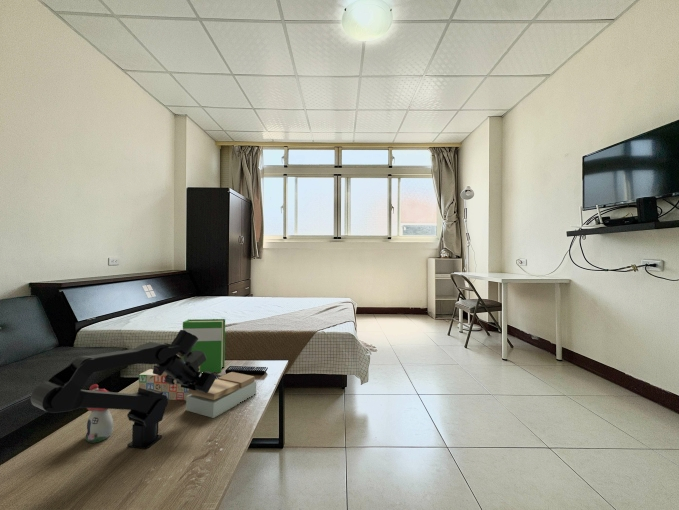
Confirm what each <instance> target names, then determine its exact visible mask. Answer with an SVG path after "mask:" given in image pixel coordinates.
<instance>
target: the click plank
mask: <svg viewBox="0 0 679 510" xmlns="http://www.w3.org/2000/svg"><path fill="white" fill-rule="evenodd" d="M238 389H239V384H237V383H233V382H228V381H223V380H219V379H218V378H216V379H215V381H214V383H213V384H212V386H211V388H210V390H209V392H207V393H203V392H200V391H198V390H196V391H195V390H190V389H189V394H192V395H196V396H200V397H204V398H208V399H212V400H215V399H217V398H220V397H222V396H224V395H227V394H229V393H231V392H234V391H236V390H238Z"/></svg>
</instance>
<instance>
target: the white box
mask: <svg viewBox="0 0 679 510" xmlns="http://www.w3.org/2000/svg"><path fill="white" fill-rule="evenodd" d="M255 377H256V376H254V375H249V374H245V373H239V372H235V371H231V372H228V373H226V374H223V375H221V376H219V377H217V379H219V380H223V381H228V382H233V383H237V384H239V389H238V390H236V391H234V392H231V393H229V394H227V395H224V396H222V397H220V398H217V399H215V400H212V399H208V398H204V397H200V396H196V395H192V394H190V395H188V396H186V400H185V402H186V403H185V406H186V407H185V408H186V409H185V411H188V412H191V413H194V414H199V415H201V416H205V417H208V418H212V419H214V418H216V417H218V416H220V415H221V414H224V413H225V412H227V411H228V410H230V409H232V408H233V407H236V406H238V405H240V404H241V403H243V402H244V400H245V401H247V400H248V399H250V398H251V396H252V397H253V396H255V395H257V381H256V380H255ZM254 394H255V395H254ZM249 397H250V398H249ZM247 398H248V399H247ZM242 401H243V402H242ZM240 402H241V403H240ZM237 404H238V405H237Z"/></svg>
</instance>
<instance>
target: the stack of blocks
mask: <svg viewBox="0 0 679 510" xmlns="http://www.w3.org/2000/svg"><path fill="white" fill-rule="evenodd" d="M198 368H199V369H200V366H199V367H198ZM153 369H154V368H153ZM153 369H152V368H150V369H147V370H145V371H143V372H141V373H139V374H138V388H143V389H149V388H151V389H154V390H157V391H160V392H163V394H162V395H165V396H167V399H168V400H170V401H171V400H174V401H186V396H188V395H190V394H189V389H186V388H182V387H181V384H178V383H176V382H177V381H176V380H174V381H173V382H174V383H175V384H174V385H171V384H168V383H166V382H165V377H166V376H167V373H165V372H163V374H162V375H161V376H160V375H156V374H153ZM198 372H200V370H199V371H198Z"/></svg>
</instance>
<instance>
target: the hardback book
mask: <svg viewBox="0 0 679 510" xmlns="http://www.w3.org/2000/svg"><path fill="white" fill-rule="evenodd" d="M182 330H185V331H186V332H188V333H191V334H192V335H195V336H196V337H197V338H198V341H197V342H196V344H195V345H194V347H193V348H192V350H191V352H192V351H196V350H198V351H203V352H204V354H205V356H206V358H207V360H206V361H205V362H203V363H202V364H201V365H200V372H204V371H210V372H216V373H222V369H223V368H222V367H224V368H225V366H226V365H225V361H226V360H225V359H226V357H225V356H226V318H202V319H201V318H200V319H198V318H193V319H187V320H185V321H183V322H182ZM181 359H182V360H184V358H183V356H181Z"/></svg>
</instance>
